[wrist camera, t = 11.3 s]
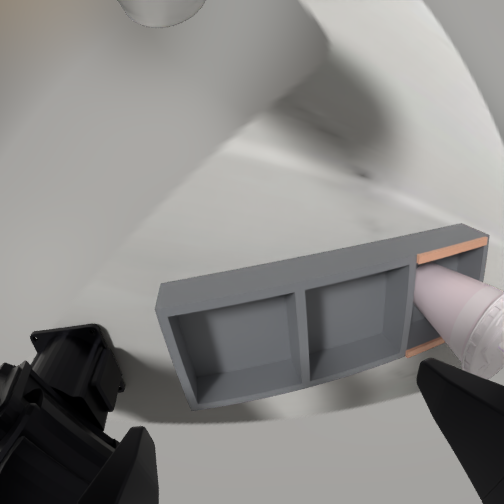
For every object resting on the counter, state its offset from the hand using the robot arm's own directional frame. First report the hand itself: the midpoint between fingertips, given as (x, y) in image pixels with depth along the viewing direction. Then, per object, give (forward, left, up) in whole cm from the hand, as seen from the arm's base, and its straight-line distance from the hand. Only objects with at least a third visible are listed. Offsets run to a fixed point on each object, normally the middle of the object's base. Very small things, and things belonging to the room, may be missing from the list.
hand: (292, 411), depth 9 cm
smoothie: (+15, -5, -13) cm, 20 cm away
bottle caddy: (+7, -5, -13) cm, 16 cm away
